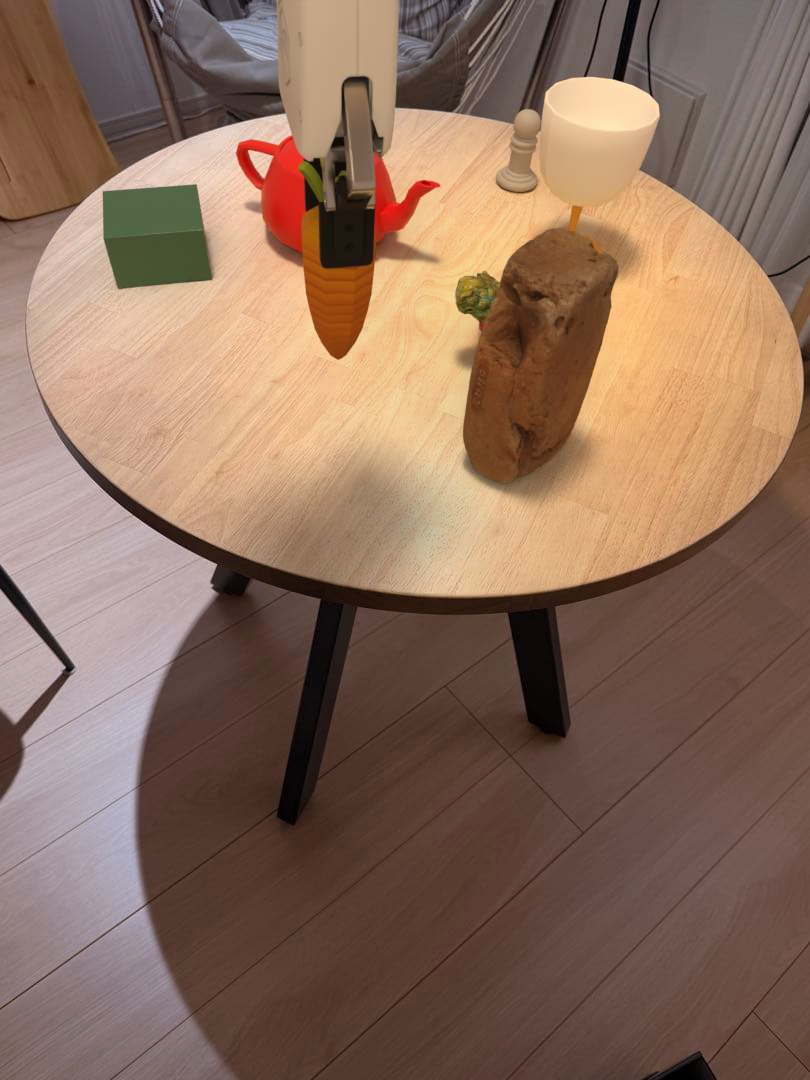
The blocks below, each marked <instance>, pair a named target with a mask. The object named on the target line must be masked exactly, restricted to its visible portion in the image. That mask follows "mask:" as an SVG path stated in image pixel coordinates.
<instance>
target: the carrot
mask: <svg viewBox="0 0 810 1080" xmlns="http://www.w3.org/2000/svg"><path fill="white" fill-rule="evenodd" d="M320 163H321V166H322V158H320ZM298 170H299V171H300V172H301V174H302V175H303V176H304V178H305V179H306V180H307V182H308V183H309V185H310V187H311V188H312V190H313V192H314V194H315V195H316V197H317V199H318V200H319V202H324V194H323V183H322V181H321V178H320V176H319V174H318V173H317V172H316V170H315V169H314V168H313V167H312V166H311V165H310V164H309V163H308V162H306V161H303V162H302V163H301V164H300V165H299V167H298ZM345 172H346V171H341V172H340V174H339V176H342V175H345ZM339 176H338V177H339ZM338 177H336V178H335V183H336V182H337V179H338ZM301 229H302V252H303V253H302V267H303V276H304V278H303V279H304V288H305V295H306V300H307V305H308V309H309V313H310V317H311V320H312V325H313V328H314V331H315V333H316V335H317V336H318V339H319V341H320V342H321V344H322V346H323V347H324V348H325V350H326V351H327V353H328V354H329V355H330V357H332V358H334V359H336V360H338V361H339V360H342V359H343V358H345V357H346V356H347V355H348V353H349V352H350V351H351V350H352V348H353V347H354V345H355V344H356V342H357V340H358V338H359V337H360V334H361V332H362V331H363V329H364V324H365V322H366V318H367V315H368V311H369V307H370V303H371V298H372V294H373V285H374V276H375V275H374V274H375V266H376V265H375V264H376V263H375V262H376V252H377V250H376V249H377V243H376V236H375V228H374V251H373V262H372V263H371V264H370V265H367V266H355V267H342V268H329V269H326V268H323V267H322V265H321V262H320V255H319V205H318V206H316V207H314V208H312V209H311V210H309V211H307V212H306V213H305V214H304V215H303V218H302V224H301Z"/></svg>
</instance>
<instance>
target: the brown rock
mask: <svg viewBox="0 0 810 1080" xmlns="http://www.w3.org/2000/svg"><path fill="white" fill-rule="evenodd" d="M579 233H580V232H578V231H576V232H574V231H570V230H568V228H565V227H554V228H550V229H549V228H548V229H546V230H545V231H543V232H541V233H539V234H537V235H538V236H537V235H535V236H536V237H535V236H534V237H535V238H534V237H533V238H534V239H533V238H531V239H530V240H528V241H526V242H525V243H523V244H522V245H521V246H520V247H518V248H517V249H516V250H515V252H513V253H512V254H511V256H510V257H509V258H508V259H507V261H506V264H505V265H504V269H503V270H502V274H501V278H500V281H499V282H500V286H499V288H498V293H497V297H496V299H495V301H494V302H493V303H492V304H491V308H490V313H489V315H488V316H487V317H486V319H485V323H484V326H483V329H481V332H480V336H479V339H478V343H477V346H476V350H475V353H474V358H473V362H472V367H471V371H470V376H469V381H468V389H467V390H468V391H467V396H466V402H465V403H466V404H465V410H464V419H463V426H462V427H463V428H462V441H463V445H464V449H465V452H466V454H467V456H468V458H469V460H470V465H471V466H472V468H473V469H474V470H475V471H476V472H478V473H479V474H480V475H481V476H483V477H486V478H487V479H489V480H492V481H494V482H496V483H501V484H503V483H509V482H512V481H514V480H516V479H517V478H521V477H524V476H527V475H530V474H532V473H533V472H535V471H536V470H538V469H539V468H541V467H542V466H543V465H545V464H546V463H547V462H549V461H550V460H551V459H552V458H553V457H554V456H555V455H556V454H557V453H559V451H560V450H561V449H562V448H563V446H564V445H565V444H566V442H567V441H568V440H569V438H570V436H571V434H572V432H573V430H574V428H575V425H576V423H577V420H578V418H579V416H580V413H581V409H582V406H583V404H584V401H585V398H586V396H587V393H588V390H589V387H590V383H591V380H592V377H593V374H594V371H595V368H596V364H597V361H598V357H599V354H600V351H601V348H602V345H603V342H604V337H605V332H606V329H607V325H608V323H609V319H610V314H611V310H612V293H613V290H614V286H615V284H616V280H617V279H618V276H619V269H620V266H619V264H618V261H617V258H615V257H614V256H612V255H611V254H609V253H604V254H602V253H599V252H598V251H597V250H595V248H594V246H593V244H594V243H592V242H591V241H590V240H589V239H588V238H587V237H585V236H586V235H585V236H583V235H584V234H583V235H581V234H582V233H580V234H579Z"/></svg>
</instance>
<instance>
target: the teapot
mask: <svg viewBox="0 0 810 1080" xmlns="http://www.w3.org/2000/svg"><path fill="white" fill-rule="evenodd" d="M249 151H252V152H257V153H261V154H264V155H268V156H272V158H271V160H270V163H269V166H268V169H267V171H266V174H265V175H264V177H263V176H262V175H261V173H260V172H259V171H258V170H257V169H256V167H255V164H254V163H253V161H252V158H251V156H250V153H249ZM374 153H375V179H376V189H375V227H374V228H375V236H376V244H378V243H379V242H381V241H382V240H383V239H384V237H385V236H386V234H387V233H392V232H398V231H401V230H403V229H405V227H406V226H407V225H408V223H409V222H410V220H411V219H412V217H413V216H414V214H415V212H416V209H417V207H418V204H419V203H420V200H421V198H423V197H424V196H426V195H427V194H428V193H430V192H433V190H435V189H437V188H441V184H440V182H437V181H433V180H429V179H421V180H420V179H419V180H417V181H415V182H414V183H413V185H411V187H410V188H409V189H408V191H407V192H406V195H405V198H404V199H403V200H402V201H401V202H397V198H396V195H395V191H394V187H393V183H392V180H391V176H390V173H389V171H388V168H387V167H386V164H385V162H384V159H383V157H382V158H379V157H378V156H377V154H376V152H375V150H374ZM235 156H236V159H237V163H238V165H239V167H240V169H241V171H242V173H243V174H244V176H245V177H246V179H248V181H249V182H250V183H251V184H252V185H253V186H254V188H255V189H257V190H259V191H260V194H261V195H260V204H261V205H260V206H261V215H262V219H263V222H264V224H265V227H266V228H267V230H269V231H270V232H271V234H273V236H274V238H276V239H277V240H278V241H279V242H281V244H282V245H285V246H287V247H289V248H291V249H292V250H295V251H297V252H299V253H301V254H303V252H302V229H301V224H302V218H303V215H304V214H305V213H306V210H305V191H304V176H303V175H302V174H301V172H300V171H299V170H298V167H299V165H300V164H301V163H302V162H303V157H302V156H301V155H300V153H299V152H298V150H297V148H296V145H295V142H294V139H293V136H292V134H291V135H288V136H287V137H286V138H284V139H283V140H282V141H280V142H279V144H275V143H271V142H268V141H264V140H260V139H259V140H258V139H253V138H250V139H247V140H243V141H240V142H238V144H237V147H236V151H235Z"/></svg>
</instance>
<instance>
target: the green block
mask: <svg viewBox="0 0 810 1080" xmlns="http://www.w3.org/2000/svg"><path fill="white" fill-rule="evenodd" d="M102 233H103V236H102V237H103V242H104V246H105V249H106V252H107V257H108V259H109V263H110V266H111V270H112V273H113V277H114V280H115V281H114V282H115V285H116V287H117V289H126V288H134V287H135V288H136V287H145V286H156V285H167V284H178V283H187V282H189V283H190V282H197V281H198V282H199V281H209V280H212V279H213V277H212V271H211V264H210V258H209V251H208V245H207V244H208V243H207V237H206V230H205V225H204V218H203V212H202V207H201V201H200V196H199V189H198V185H197V183H195V184H181V185H167V186H166V185H165V186H153V187H141V188H140V187H139V188H127V189H113V190H103V191H102Z"/></svg>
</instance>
